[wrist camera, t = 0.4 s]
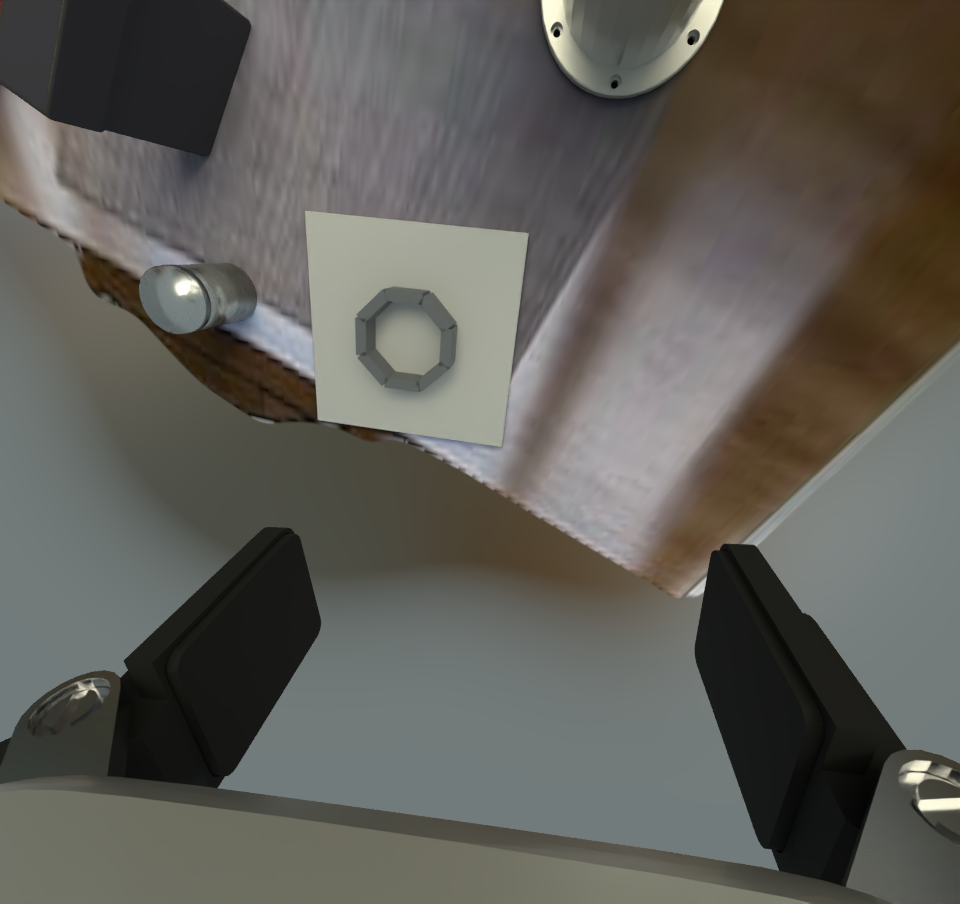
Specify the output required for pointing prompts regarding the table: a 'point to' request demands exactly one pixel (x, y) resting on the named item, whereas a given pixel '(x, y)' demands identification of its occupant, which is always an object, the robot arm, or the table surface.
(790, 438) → the table surface
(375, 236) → the holder
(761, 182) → the table surface
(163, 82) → the upright black box
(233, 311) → the piston
